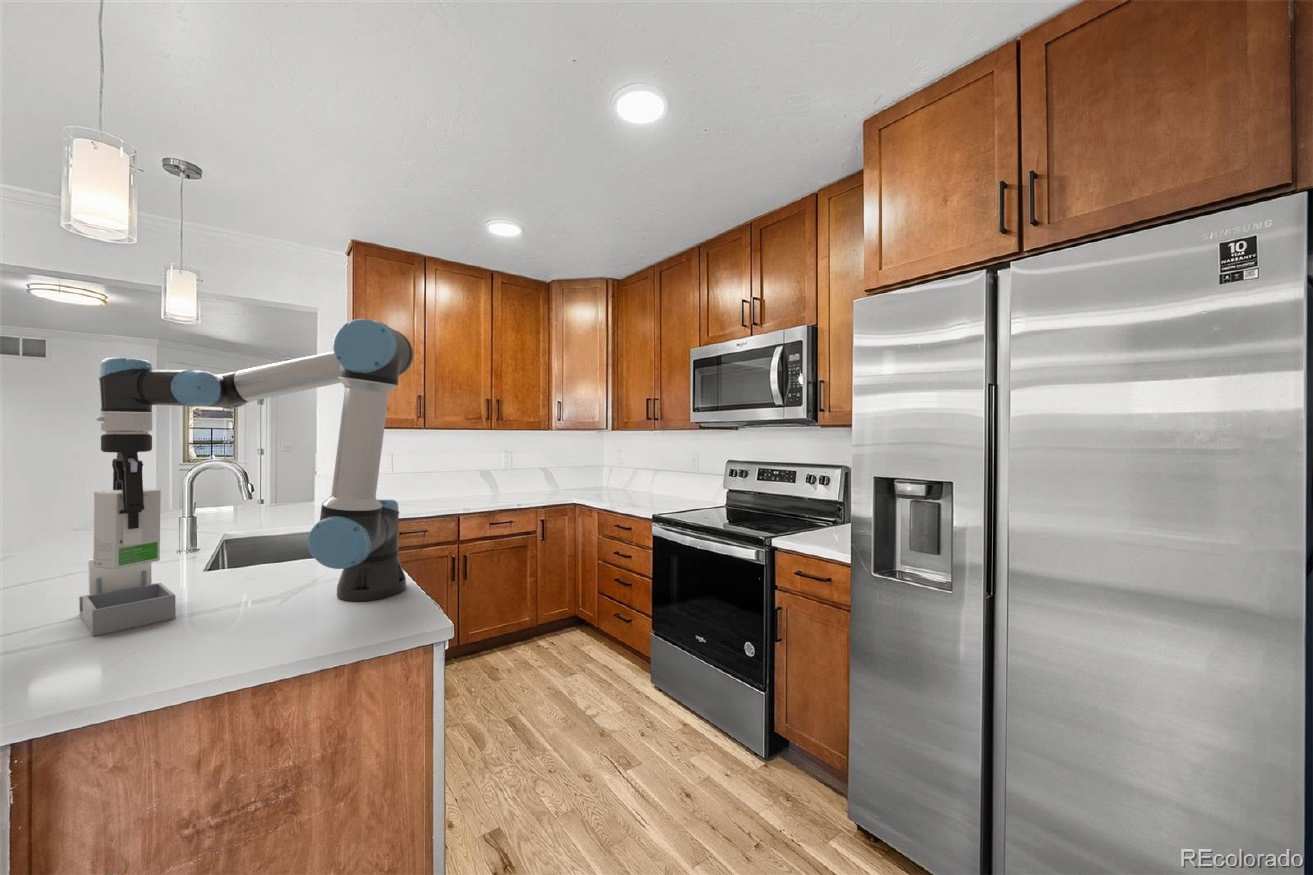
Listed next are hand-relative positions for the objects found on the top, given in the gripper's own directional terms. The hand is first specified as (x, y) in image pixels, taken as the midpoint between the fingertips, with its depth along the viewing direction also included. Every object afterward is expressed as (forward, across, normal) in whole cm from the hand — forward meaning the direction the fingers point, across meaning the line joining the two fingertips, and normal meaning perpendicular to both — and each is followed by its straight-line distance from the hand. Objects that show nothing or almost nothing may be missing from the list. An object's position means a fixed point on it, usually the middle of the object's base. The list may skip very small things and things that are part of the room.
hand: (128, 540), depth 109 cm
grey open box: (+17, -2, 0) cm, 17 cm away
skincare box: (+5, 0, 0) cm, 5 cm away
